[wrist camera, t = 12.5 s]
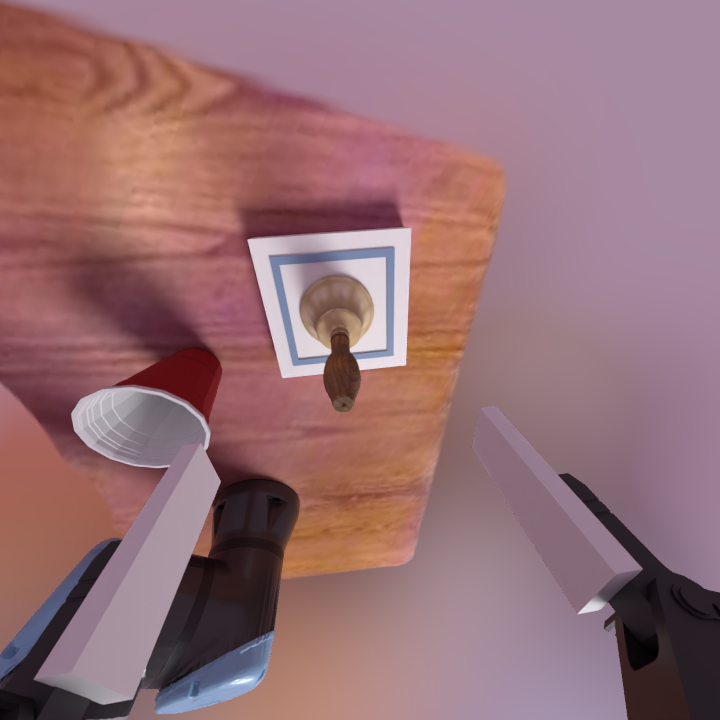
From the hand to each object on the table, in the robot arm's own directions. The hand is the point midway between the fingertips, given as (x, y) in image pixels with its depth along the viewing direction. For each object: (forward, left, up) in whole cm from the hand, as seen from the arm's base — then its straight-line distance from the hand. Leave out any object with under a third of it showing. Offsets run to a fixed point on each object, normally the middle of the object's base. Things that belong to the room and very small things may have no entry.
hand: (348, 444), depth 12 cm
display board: (0, 0, -22) cm, 22 cm away
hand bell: (0, 0, -19) cm, 19 cm away
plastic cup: (-19, -7, -22) cm, 30 cm away
